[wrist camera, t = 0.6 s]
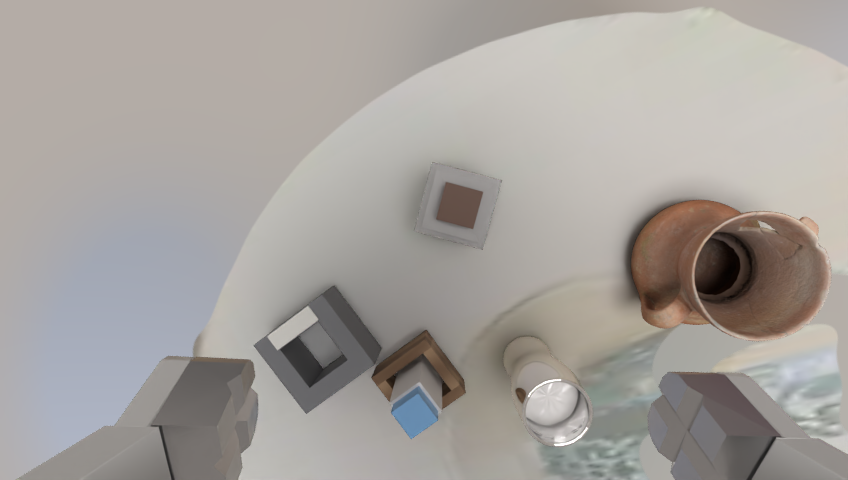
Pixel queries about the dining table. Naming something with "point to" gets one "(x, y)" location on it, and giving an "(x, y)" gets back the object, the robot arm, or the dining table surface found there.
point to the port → (298, 362)
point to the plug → (417, 396)
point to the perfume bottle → (457, 205)
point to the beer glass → (546, 393)
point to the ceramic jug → (730, 270)
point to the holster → (411, 351)
